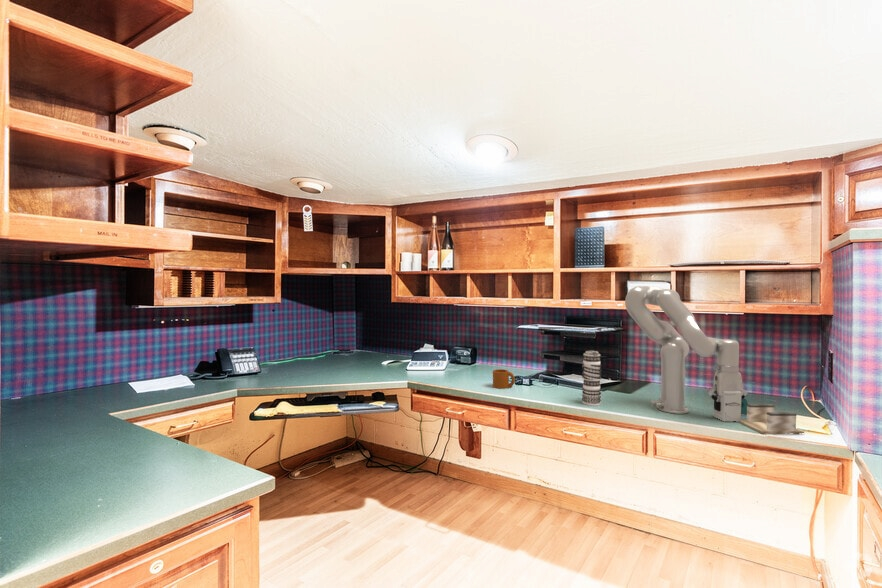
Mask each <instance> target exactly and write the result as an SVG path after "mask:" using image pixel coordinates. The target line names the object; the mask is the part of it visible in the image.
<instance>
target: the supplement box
mask: <svg viewBox="0 0 882 588" xmlns="http://www.w3.org/2000/svg"><path fill="white" fill-rule="evenodd" d="M716 392H717V390H716ZM717 394H718V393H717ZM713 395H715V393H714V392H713ZM717 397H718V395H717ZM719 402H721V411H717V410H715V409H714V408H713V412H712V413H713V415H712V416H713V417H714V418H716V419H717V418H718V420H719V419H720V421H721V420H722V421H721V422H723V421H724V422H733V421H736V422H738V423H739V420H742V415H741V392H733V391H732V392H723V397H722V396H721V399H720V401H719Z"/></svg>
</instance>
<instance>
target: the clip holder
mask: <svg viewBox="0 0 882 588" xmlns="http://www.w3.org/2000/svg"><path fill="white" fill-rule="evenodd" d="M740 423H741V425H742V426H745V427H747V428H748V429H751V430H753V431H755V432H757V433H759V434H762V435H790V434H789V433H794V434H793V435H798V434H797V433H804V434H805V430H802V429H799V428H797V413H796V412H793V411H792V412H791V411H790V412H789V411H783V412H781V411H780V412H779V411H777V412H776V411H775V405H774V404H772V403H748V404H747V415H746V419H745V420H744V419H743V420H742V419H741V420H739V422H738V424H740ZM796 428H797V429H796ZM785 433H787V434H785Z"/></svg>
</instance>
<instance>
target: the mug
mask: <svg viewBox="0 0 882 588" xmlns="http://www.w3.org/2000/svg"><path fill="white" fill-rule="evenodd" d="M509 377H510V378H511V382H510V378H509ZM515 381H516V378H515V375H514V373H513V372H511V371H509V370H507V369H492V388H494V389H499V390H500V389H501V390H503V389H505V390H506V389H508V388H511V387H512V386H514V385H515V383H516V382H515Z"/></svg>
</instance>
